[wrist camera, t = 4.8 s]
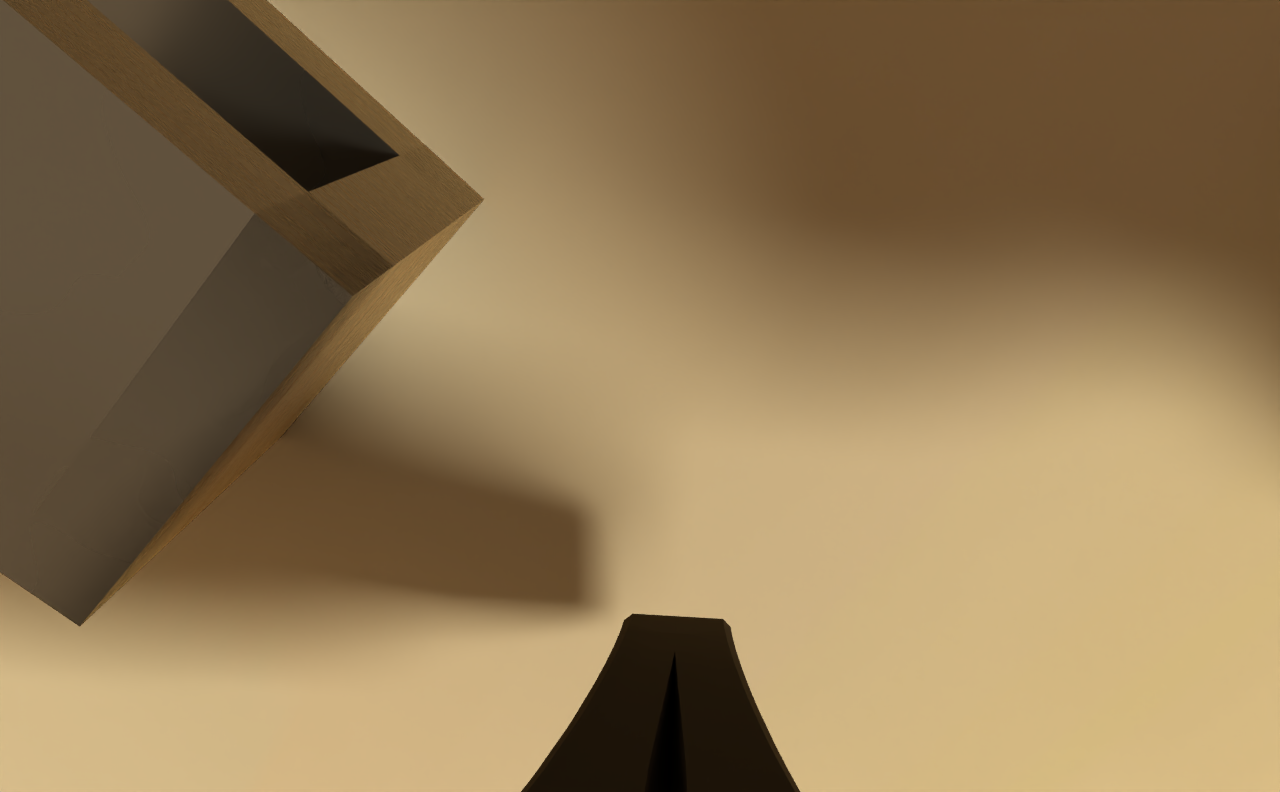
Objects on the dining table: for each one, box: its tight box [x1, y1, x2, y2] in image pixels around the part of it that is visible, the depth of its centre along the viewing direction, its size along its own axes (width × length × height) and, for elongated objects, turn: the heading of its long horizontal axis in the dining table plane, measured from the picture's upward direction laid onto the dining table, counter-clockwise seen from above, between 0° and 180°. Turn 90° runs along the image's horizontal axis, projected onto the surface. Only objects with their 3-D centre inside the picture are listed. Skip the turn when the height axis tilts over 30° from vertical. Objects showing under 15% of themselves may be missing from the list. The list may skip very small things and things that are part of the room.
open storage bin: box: [0, 0, 484, 626], centre depth 10 cm, size 5×5×4 cm
